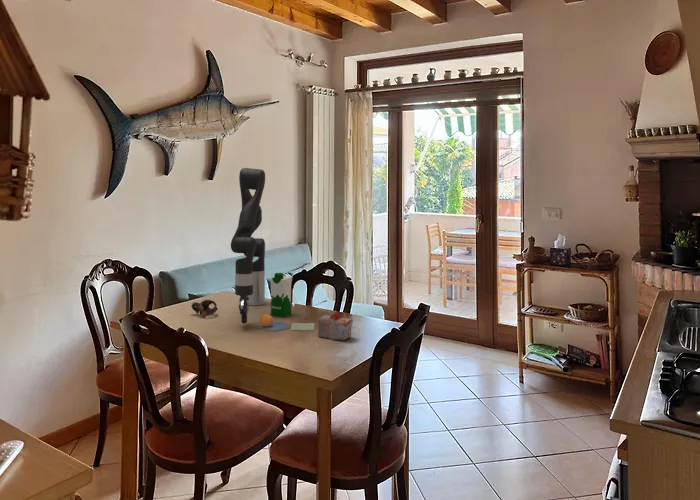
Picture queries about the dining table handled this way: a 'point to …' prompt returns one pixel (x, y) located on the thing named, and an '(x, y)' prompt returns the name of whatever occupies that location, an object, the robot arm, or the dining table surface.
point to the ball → (266, 320)
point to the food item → (335, 327)
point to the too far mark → (302, 326)
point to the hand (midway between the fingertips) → (244, 322)
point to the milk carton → (280, 295)
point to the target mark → (276, 326)
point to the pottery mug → (204, 308)
